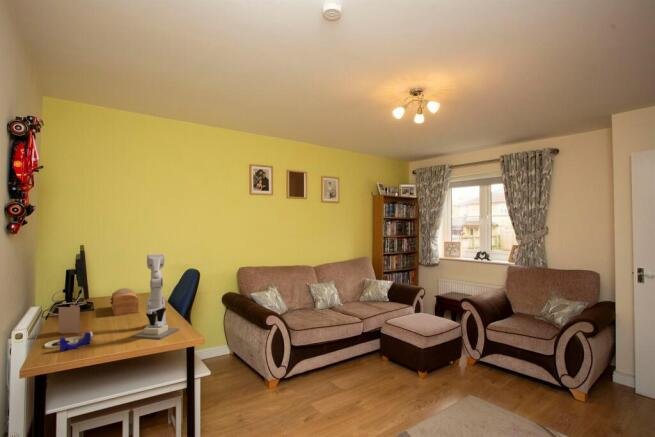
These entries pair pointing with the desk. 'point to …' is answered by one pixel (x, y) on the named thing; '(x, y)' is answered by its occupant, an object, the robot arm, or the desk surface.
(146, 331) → the pocket plate
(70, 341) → the light piece
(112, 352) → the desk surface
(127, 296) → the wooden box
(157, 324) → the block
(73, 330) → the greeting card
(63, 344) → the blue cradle holder
